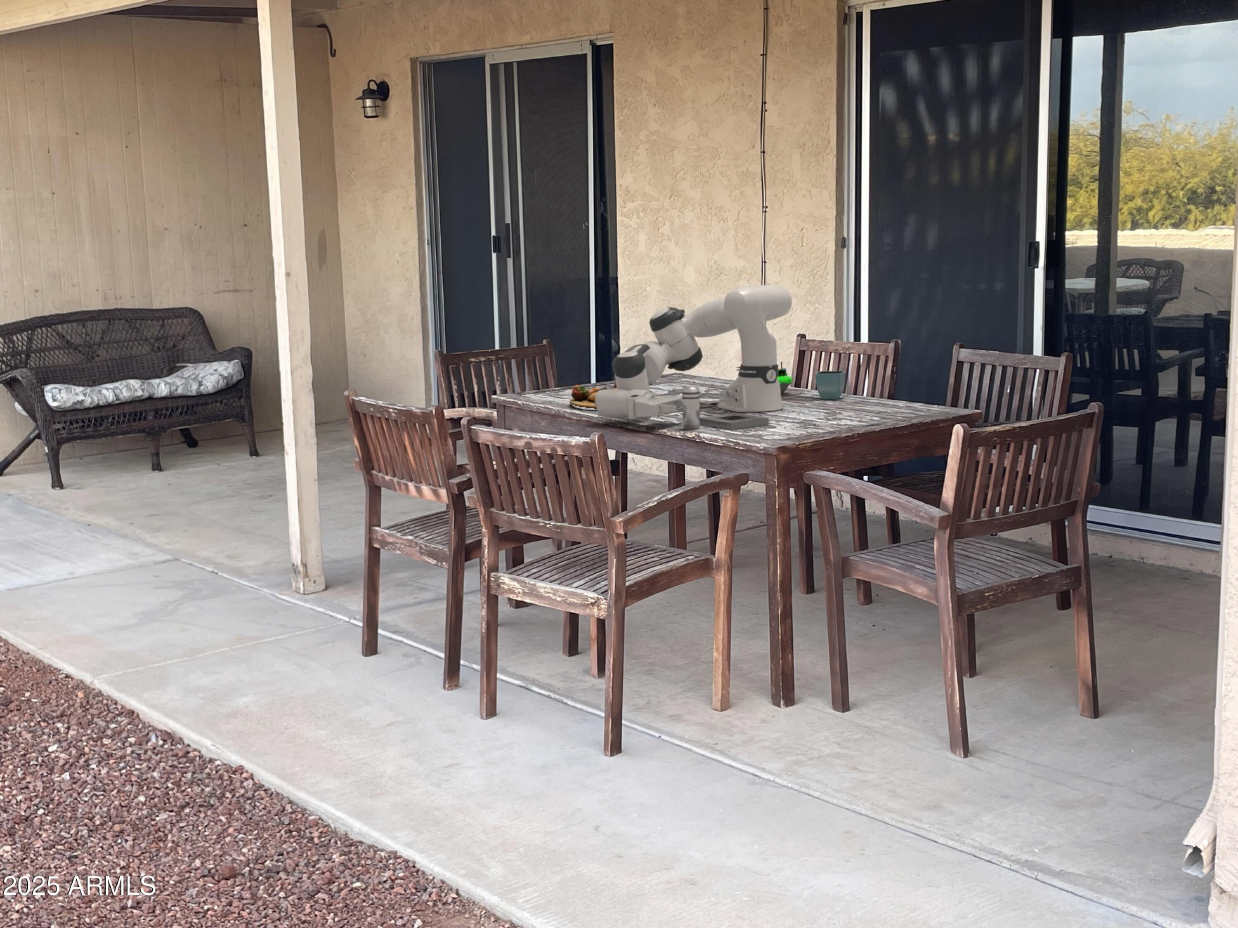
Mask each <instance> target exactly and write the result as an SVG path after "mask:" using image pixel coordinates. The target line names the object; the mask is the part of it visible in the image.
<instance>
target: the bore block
mask: <svg viewBox="0 0 1238 928" xmlns="http://www.w3.org/2000/svg"><path fill="white" fill-rule="evenodd" d="M769 419H770V418H769V417H764V416H756V415H750V414H745V413H744V414H743V413H739V412H731V413H724V414H716V415H710V416H700V426H704V427H711V428H717V429H722V430H723V429H724V430H730V431H732V430H733V431H734V430H740V429H750V428H756V427H762V426H769V425H770V424H769V422H770V421H769Z"/></svg>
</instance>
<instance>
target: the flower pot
mask: <svg viewBox="0 0 1238 928" xmlns="http://www.w3.org/2000/svg"><path fill="white" fill-rule="evenodd" d="M846 375H847V372H846V370H820V371H817V372H815V373H814V376H815V384H816V390H817V394H818V395H819V397H820V398H821V400H823V401H825V400H835V401H836V400H839V399H840V398H841V396H842V394H843V392H844V388H845V382H846Z"/></svg>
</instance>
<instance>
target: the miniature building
mask: <svg viewBox="0 0 1238 928" xmlns="http://www.w3.org/2000/svg"><path fill="white" fill-rule="evenodd" d="M777 379H778V381H779V383H780V391H781V395H782V394H784V393H785V392H786V391H787V389H788V388H789V387H790V385H791V384H792V381H793V378H792V377H791V376H788V373H787V369H786V368H785V367H783V361H780V368H779V371H778V376H777Z"/></svg>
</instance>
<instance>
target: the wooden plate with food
mask: <svg viewBox="0 0 1238 928" xmlns="http://www.w3.org/2000/svg"><path fill="white" fill-rule="evenodd" d="M612 386H613V387H612V388H607V387H604V388H601V387H593V388H591V389H588V388H586V386H584V385H581V384H580V385H579V384H576V385H574V386H573V388H572V391H571V397H572V398H571V399H570V401H569V405H570V404H571V405H575V406H579V407H586V408H594V409H596V407H595V396H596V393H597V392H598V391H599V390H606V389H617V385H616V381H615V382H614V384H613V385H612ZM655 396H656V397H660V395H655Z"/></svg>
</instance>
